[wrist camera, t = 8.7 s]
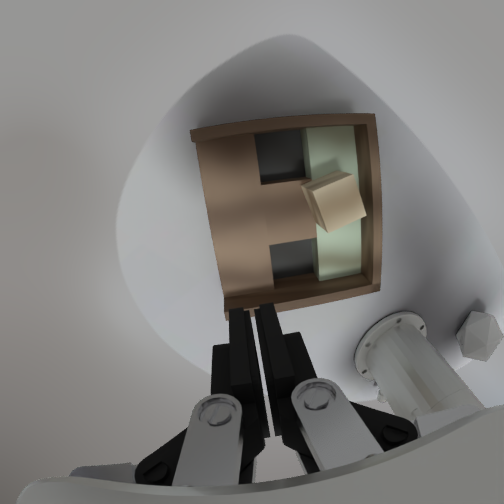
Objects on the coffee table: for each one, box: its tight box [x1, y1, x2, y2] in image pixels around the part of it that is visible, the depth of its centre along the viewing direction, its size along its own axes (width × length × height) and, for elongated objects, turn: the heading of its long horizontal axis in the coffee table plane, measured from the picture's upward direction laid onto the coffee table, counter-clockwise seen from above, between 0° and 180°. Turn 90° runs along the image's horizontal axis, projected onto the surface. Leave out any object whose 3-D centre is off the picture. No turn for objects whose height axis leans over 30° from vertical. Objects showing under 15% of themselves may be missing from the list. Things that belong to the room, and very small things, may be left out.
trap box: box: [190, 113, 382, 321], centre depth 28 cm, size 18×16×6 cm
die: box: [456, 311, 504, 362], centre depth 36 cm, size 8×9×10 cm
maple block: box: [301, 170, 367, 233], centre depth 26 cm, size 4×4×4 cm
